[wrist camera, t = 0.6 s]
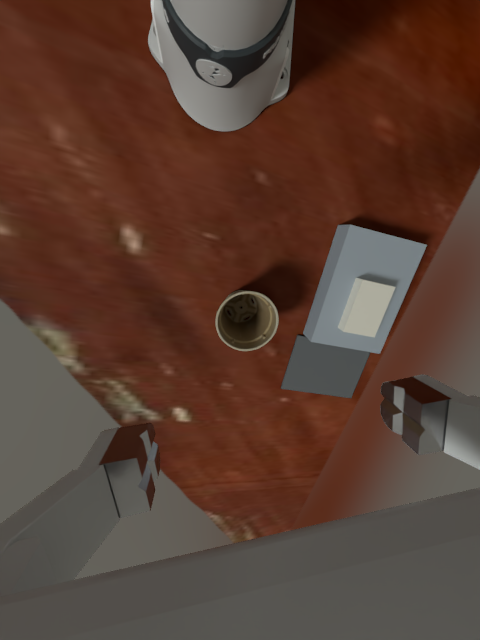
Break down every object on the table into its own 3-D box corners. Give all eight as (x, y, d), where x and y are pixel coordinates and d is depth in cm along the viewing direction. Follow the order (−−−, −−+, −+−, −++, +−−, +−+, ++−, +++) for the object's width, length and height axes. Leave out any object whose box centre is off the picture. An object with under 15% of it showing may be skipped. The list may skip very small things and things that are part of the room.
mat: (297, 334, 48) (298, 335, 48) (370, 347, 51) (371, 348, 51) (280, 387, 52) (281, 388, 51) (349, 396, 55) (350, 398, 54)
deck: (337, 225, 42) (350, 224, 38) (409, 243, 45) (427, 244, 41) (303, 333, 48) (310, 341, 44) (367, 344, 51) (379, 353, 47)
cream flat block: (356, 277, 41) (362, 279, 40) (387, 284, 42) (395, 287, 41) (337, 327, 44) (343, 331, 42) (367, 333, 45) (374, 337, 43)
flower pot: (237, 269, 43) (243, 277, 35) (277, 302, 46) (291, 317, 38) (204, 310, 45) (202, 327, 37) (244, 339, 47) (250, 361, 39)
